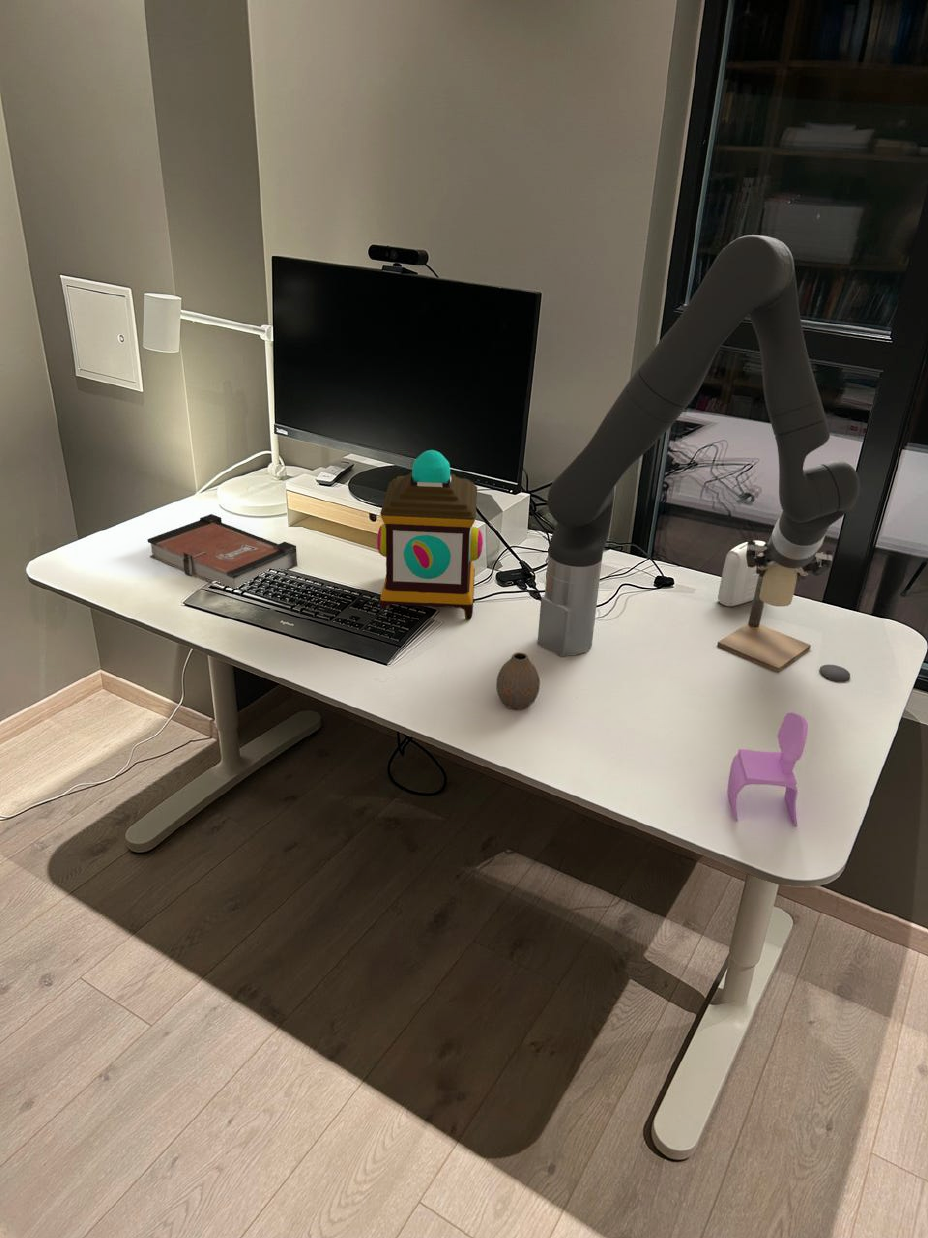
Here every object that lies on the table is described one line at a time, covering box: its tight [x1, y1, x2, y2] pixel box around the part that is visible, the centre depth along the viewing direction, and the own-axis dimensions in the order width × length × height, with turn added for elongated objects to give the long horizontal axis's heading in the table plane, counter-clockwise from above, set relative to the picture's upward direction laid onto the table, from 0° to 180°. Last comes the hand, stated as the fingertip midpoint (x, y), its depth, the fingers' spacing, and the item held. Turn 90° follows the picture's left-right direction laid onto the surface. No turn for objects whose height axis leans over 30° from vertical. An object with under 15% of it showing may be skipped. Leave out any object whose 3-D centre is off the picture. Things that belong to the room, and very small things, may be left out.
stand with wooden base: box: [716, 576, 812, 673], centre depth 161 cm, size 16×12×14 cm
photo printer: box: [717, 540, 766, 607], centre depth 177 cm, size 10×4×12 cm, turn 123°
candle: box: [760, 565, 798, 607], centre depth 156 cm, size 6×6×10 cm
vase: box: [495, 651, 541, 710], centre depth 142 cm, size 7×7×9 cm
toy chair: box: [727, 711, 809, 827], centre depth 120 cm, size 8×9×15 cm
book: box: [147, 513, 298, 589], centre depth 185 cm, size 26×18×5 cm
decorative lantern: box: [376, 449, 484, 621], centre depth 168 cm, size 20×20×30 cm
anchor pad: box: [818, 664, 851, 683], centre depth 156 cm, size 5×5×1 cm
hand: (779, 574), depth 158 cm, fingers closed on candle, 5 cm apart
